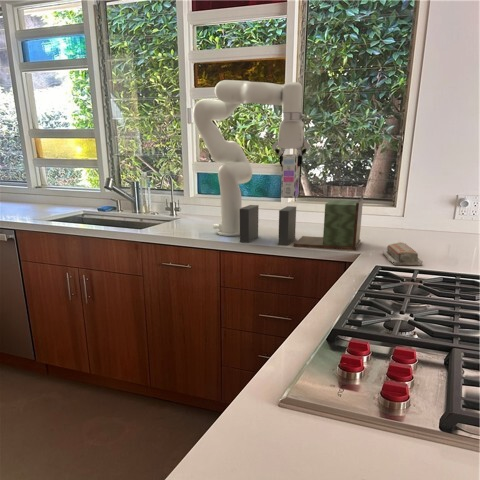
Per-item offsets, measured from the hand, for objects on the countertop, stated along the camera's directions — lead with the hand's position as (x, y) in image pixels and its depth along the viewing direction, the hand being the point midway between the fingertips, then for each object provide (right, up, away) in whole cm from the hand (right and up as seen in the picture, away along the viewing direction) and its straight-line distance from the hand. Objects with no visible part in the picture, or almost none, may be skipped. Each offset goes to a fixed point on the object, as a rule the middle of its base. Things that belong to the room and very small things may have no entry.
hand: (290, 165), depth 187 cm
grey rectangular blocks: (-8, -28, +14) cm, 32 cm away
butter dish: (+38, -41, -20) cm, 59 cm away
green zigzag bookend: (+16, -31, +6) cm, 35 cm away
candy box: (0, -11, +4) cm, 12 cm away
